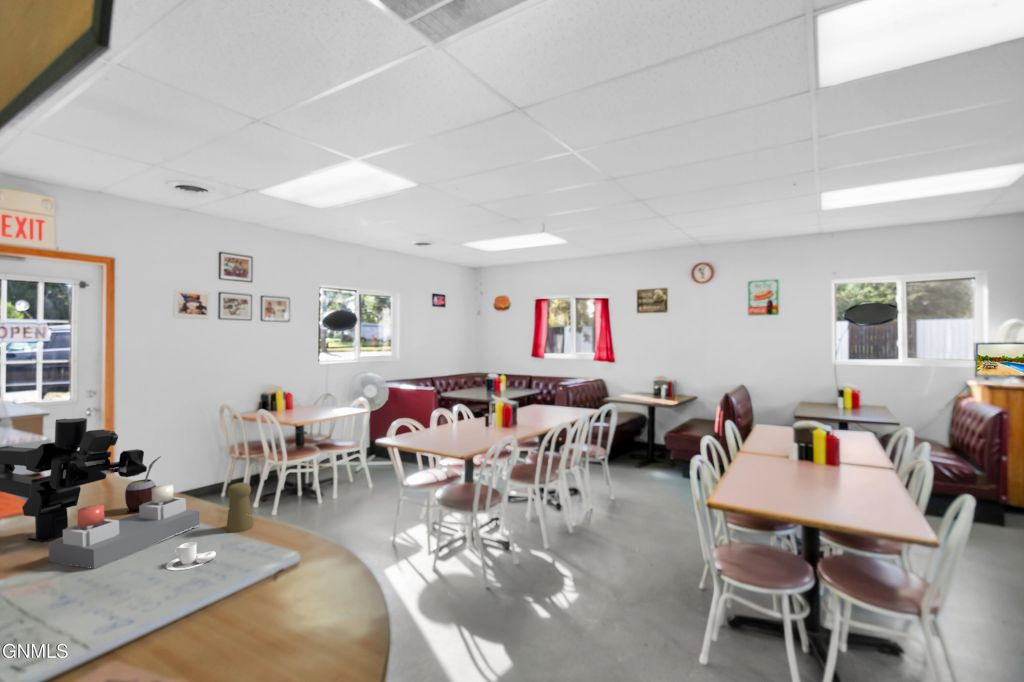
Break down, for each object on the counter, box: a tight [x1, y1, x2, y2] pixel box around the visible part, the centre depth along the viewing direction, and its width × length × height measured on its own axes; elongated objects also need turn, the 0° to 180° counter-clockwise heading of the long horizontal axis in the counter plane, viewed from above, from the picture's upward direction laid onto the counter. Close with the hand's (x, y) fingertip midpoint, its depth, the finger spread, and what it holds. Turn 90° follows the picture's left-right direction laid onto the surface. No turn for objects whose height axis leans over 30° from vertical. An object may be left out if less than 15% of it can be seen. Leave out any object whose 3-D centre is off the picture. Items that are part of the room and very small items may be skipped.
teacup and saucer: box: [165, 541, 217, 572], centre depth 105 cm, size 9×8×4 cm
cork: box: [225, 482, 254, 533], centre depth 124 cm, size 6×6×11 cm
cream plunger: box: [152, 484, 175, 503], centre depth 124 cm, size 4×4×3 cm
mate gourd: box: [124, 455, 161, 514], centre depth 140 cm, size 8×8×15 cm
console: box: [48, 496, 200, 569], centre depth 116 cm, size 14×24×7 cm, turn 162°
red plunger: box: [77, 504, 105, 527], centre depth 109 cm, size 4×4×3 cm
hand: (126, 472), depth 114 cm, fingers open, 9 cm apart
